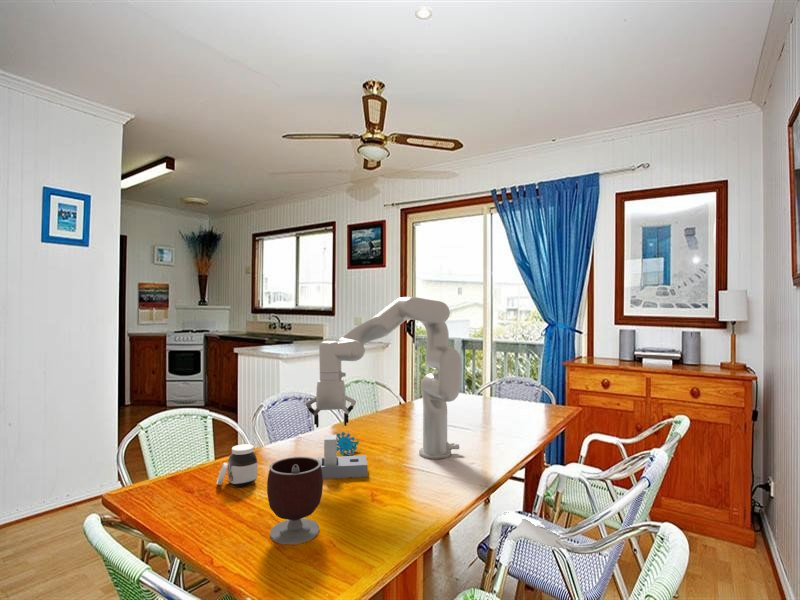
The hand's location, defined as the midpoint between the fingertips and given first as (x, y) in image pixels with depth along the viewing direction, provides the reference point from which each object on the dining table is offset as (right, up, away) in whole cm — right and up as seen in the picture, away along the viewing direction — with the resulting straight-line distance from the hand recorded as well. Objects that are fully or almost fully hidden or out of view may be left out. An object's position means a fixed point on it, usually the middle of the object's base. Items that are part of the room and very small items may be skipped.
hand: (331, 425), depth 157 cm
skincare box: (0, -16, 0) cm, 16 cm away
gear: (+3, -17, +22) cm, 27 cm away
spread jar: (-30, -16, -10) cm, 35 cm away
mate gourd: (-3, -16, -42) cm, 45 cm away
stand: (+4, -16, 0) cm, 17 cm away
